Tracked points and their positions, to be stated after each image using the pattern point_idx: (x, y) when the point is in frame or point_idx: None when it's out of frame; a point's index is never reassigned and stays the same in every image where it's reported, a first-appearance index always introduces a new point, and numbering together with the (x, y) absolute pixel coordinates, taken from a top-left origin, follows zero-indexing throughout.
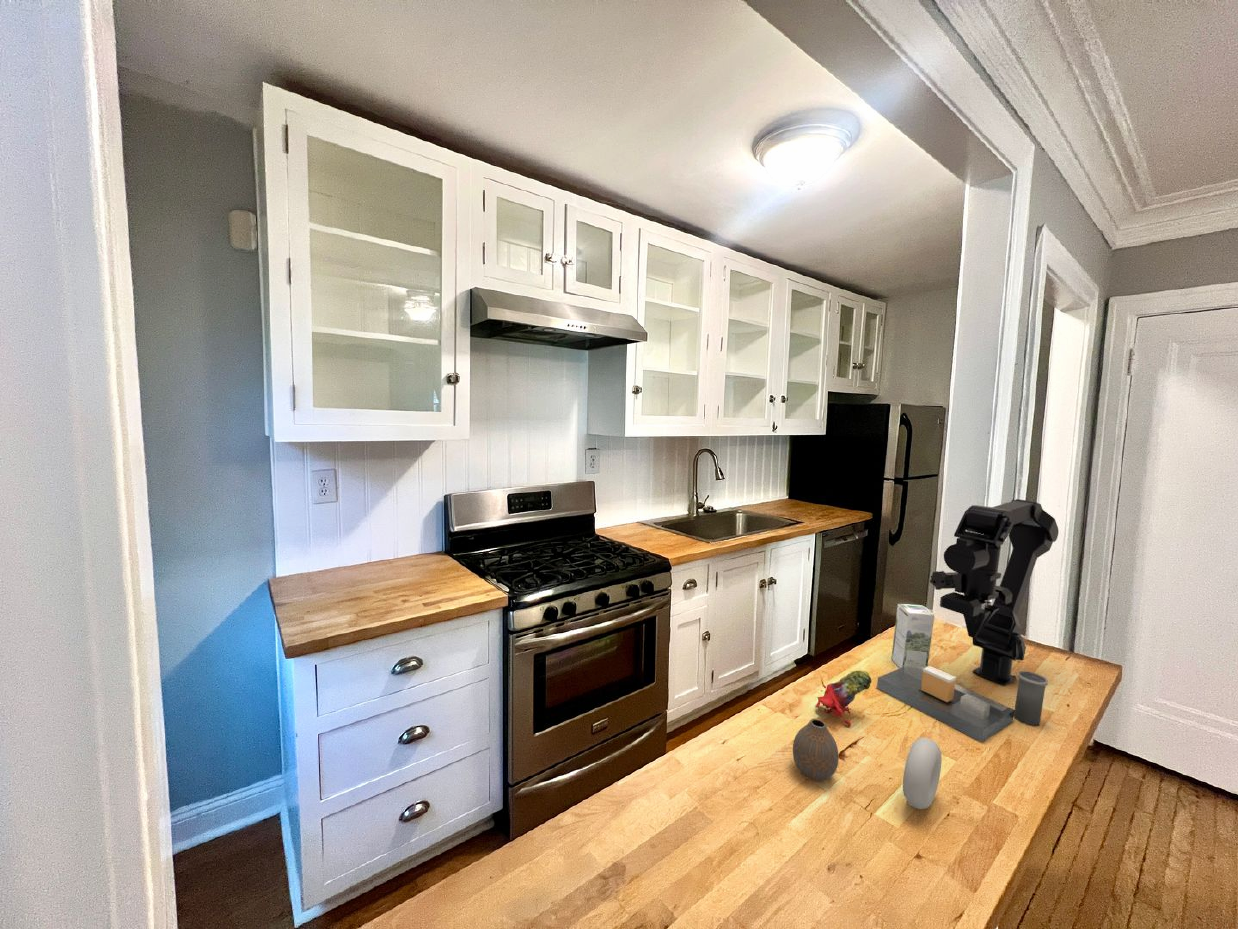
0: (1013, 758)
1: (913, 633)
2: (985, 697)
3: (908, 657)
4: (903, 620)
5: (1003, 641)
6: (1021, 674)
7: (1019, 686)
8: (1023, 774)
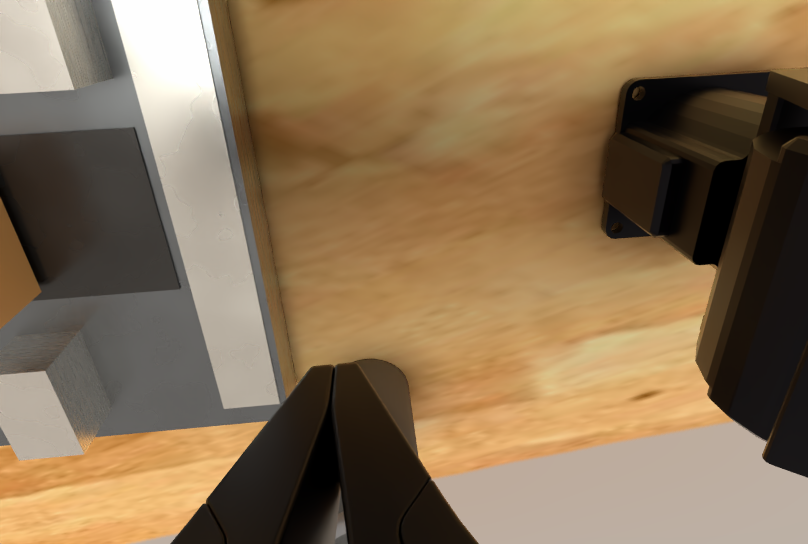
0: (63, 474)
1: None
2: (262, 331)
3: None
4: None
5: (717, 378)
6: (344, 540)
7: None
8: (18, 514)
